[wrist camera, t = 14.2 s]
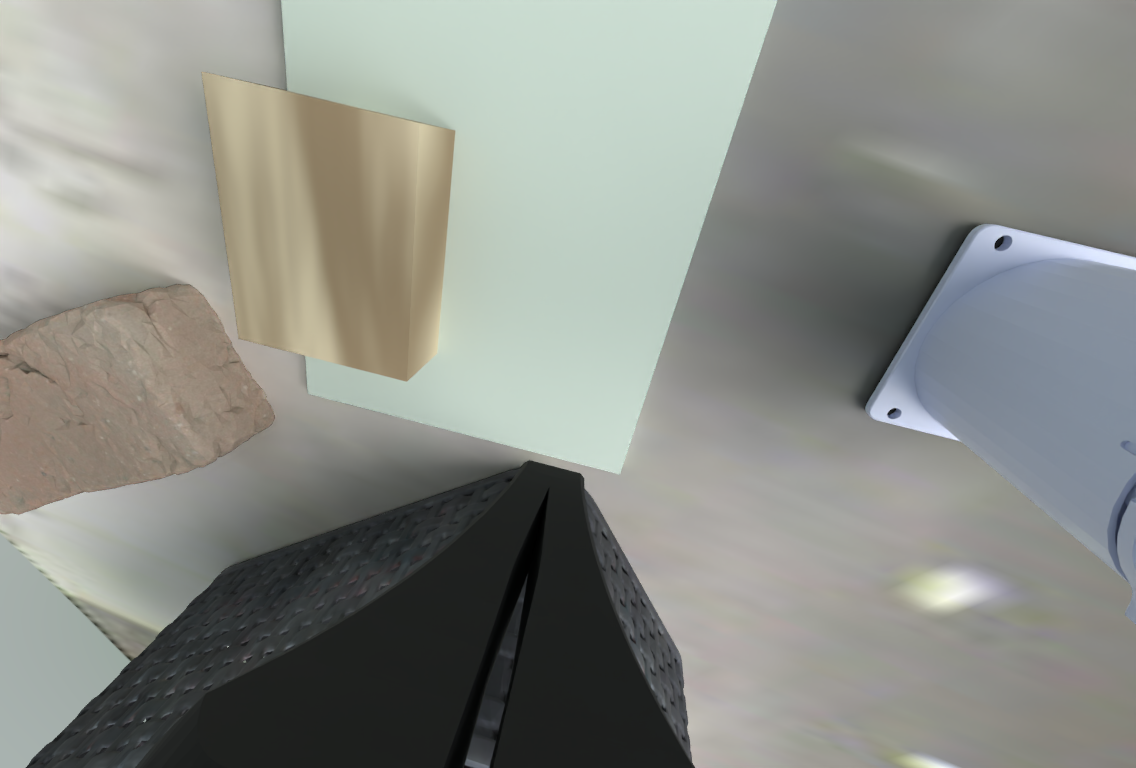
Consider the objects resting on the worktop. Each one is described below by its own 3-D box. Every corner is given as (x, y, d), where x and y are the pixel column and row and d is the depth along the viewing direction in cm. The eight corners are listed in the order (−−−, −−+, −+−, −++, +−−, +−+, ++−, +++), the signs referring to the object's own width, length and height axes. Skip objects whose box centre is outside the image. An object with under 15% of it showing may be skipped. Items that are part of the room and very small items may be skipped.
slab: (419, 123, 14) (201, 71, 14) (406, 381, 18) (238, 338, 18) (455, 130, 16) (272, 87, 16) (437, 353, 20) (290, 316, 20)
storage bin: (569, 445, 22) (493, 761, 11) (699, 680, 29) (744, 1040, 17) (204, 569, 31) (-64, 820, 19) (368, 728, 38) (243, 989, 26)
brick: (194, 272, 21) (84, 298, 17) (289, 420, 24) (216, 473, 20) (-16, 353, 26) (-145, 390, 21) (88, 471, 29) (-7, 523, 24)
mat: (794, -61, 13) (800, -70, 13) (620, 467, 22) (619, 474, 22) (283, -172, 14) (268, -186, 13) (315, 388, 23) (307, 393, 22)
